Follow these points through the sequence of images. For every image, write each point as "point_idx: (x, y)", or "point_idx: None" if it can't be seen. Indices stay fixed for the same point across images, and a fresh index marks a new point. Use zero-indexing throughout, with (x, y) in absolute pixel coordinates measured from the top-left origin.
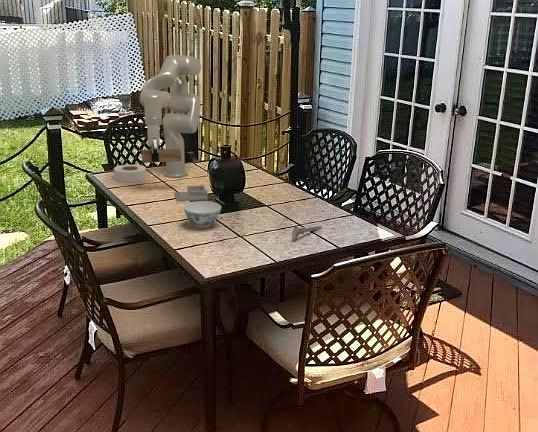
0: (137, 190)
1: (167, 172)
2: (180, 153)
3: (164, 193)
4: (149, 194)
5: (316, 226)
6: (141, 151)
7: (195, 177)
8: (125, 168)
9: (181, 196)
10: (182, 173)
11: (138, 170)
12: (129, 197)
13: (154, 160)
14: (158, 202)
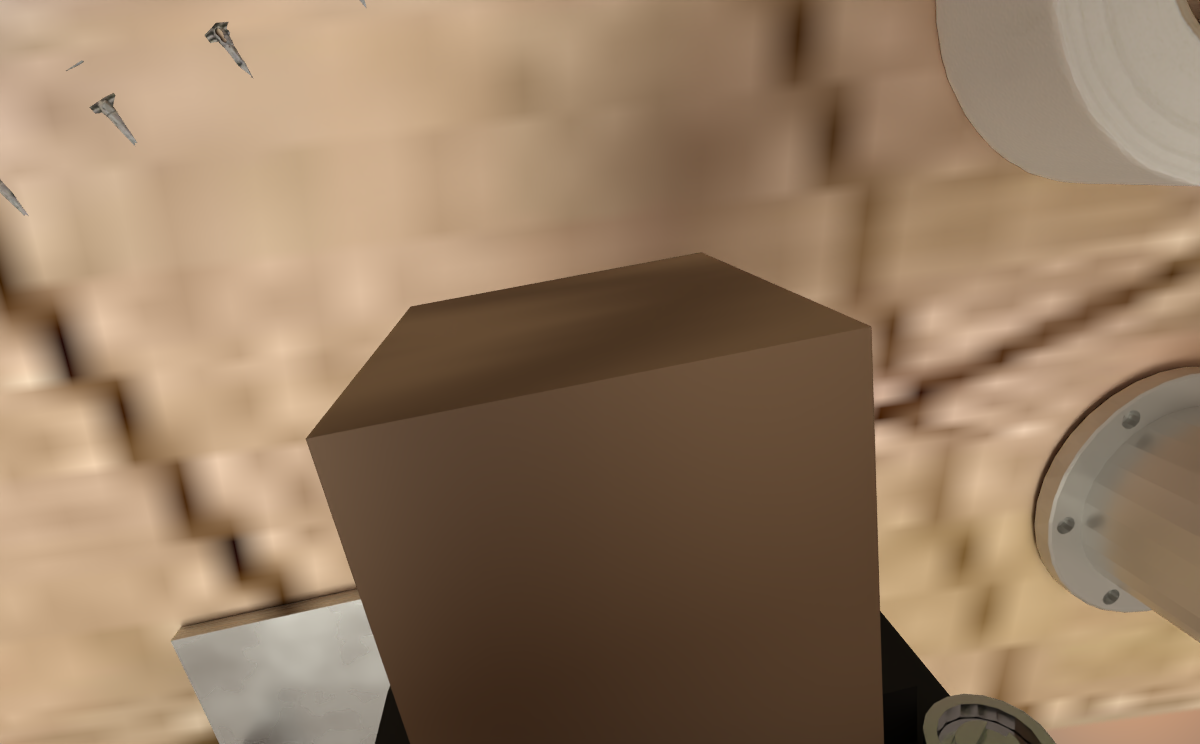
0: (572, 130)
1: (1156, 433)
2: None
3: None
4: (406, 307)
5: None
6: (726, 337)
7: (1007, 672)
8: None
9: (295, 667)
10: (1103, 576)
11: (1124, 82)
12: (229, 51)
13: None
14: (92, 451)
